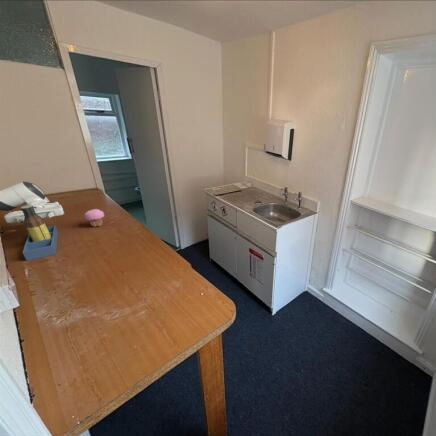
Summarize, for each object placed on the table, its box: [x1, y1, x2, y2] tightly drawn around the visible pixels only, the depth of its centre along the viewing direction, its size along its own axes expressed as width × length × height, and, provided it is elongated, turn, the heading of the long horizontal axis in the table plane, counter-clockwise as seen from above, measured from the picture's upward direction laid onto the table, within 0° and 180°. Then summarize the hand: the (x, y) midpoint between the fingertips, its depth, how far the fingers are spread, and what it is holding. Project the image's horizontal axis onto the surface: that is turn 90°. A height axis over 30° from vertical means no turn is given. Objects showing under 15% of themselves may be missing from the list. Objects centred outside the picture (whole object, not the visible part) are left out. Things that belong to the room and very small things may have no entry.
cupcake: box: [83, 208, 105, 228], centre depth 134 cm, size 9×9×10 cm
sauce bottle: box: [20, 204, 51, 242], centre depth 110 cm, size 6×6×20 cm
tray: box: [22, 225, 59, 262], centre depth 113 cm, size 9×27×4 cm, turn 41°
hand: (34, 218), depth 111 cm, fingers open, 8 cm apart
